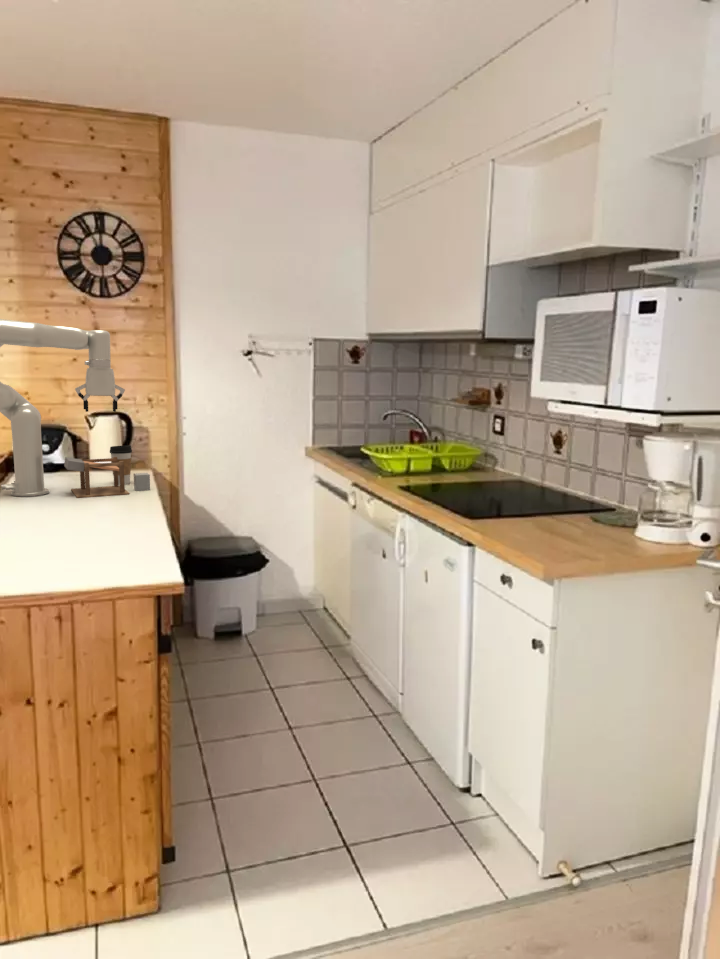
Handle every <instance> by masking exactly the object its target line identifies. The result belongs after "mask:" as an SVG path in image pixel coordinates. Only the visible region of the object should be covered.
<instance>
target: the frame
mask: <svg viewBox="0 0 720 959" xmlns="http://www.w3.org/2000/svg"><path fill="white" fill-rule="evenodd" d="M78 459H81V460H82V461H88V462H95V463H102V464H89V463H84V472H81V471H79V478H80V479H79V480H80V487H79V488H78V487H77V488H71V489H70V491H71V492H72V494H73V496H74V497H75V498H76V499H84V498H97V497H112V496H125V495H130V492H129V491H128V490H127V489H125V488H126V486H125V485H126V484H125V483H124V461H119V463H118V461H117V457H113V458H110V457H109V458H92V459H90V458H89V459H87V458H86V459H84V458H82V457H81V458H78ZM111 461H113V463H111ZM103 462H104V463H103ZM105 462H106V463H105ZM106 466H117V467H118V466H119V474H120V485H118V471H115V470H112V474H113V473H114V476H113V485H109V486H108V485H107V486H96V487H95V486H92V487H91V484H90V483H91V482H90V468H93V467H106Z"/></svg>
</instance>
